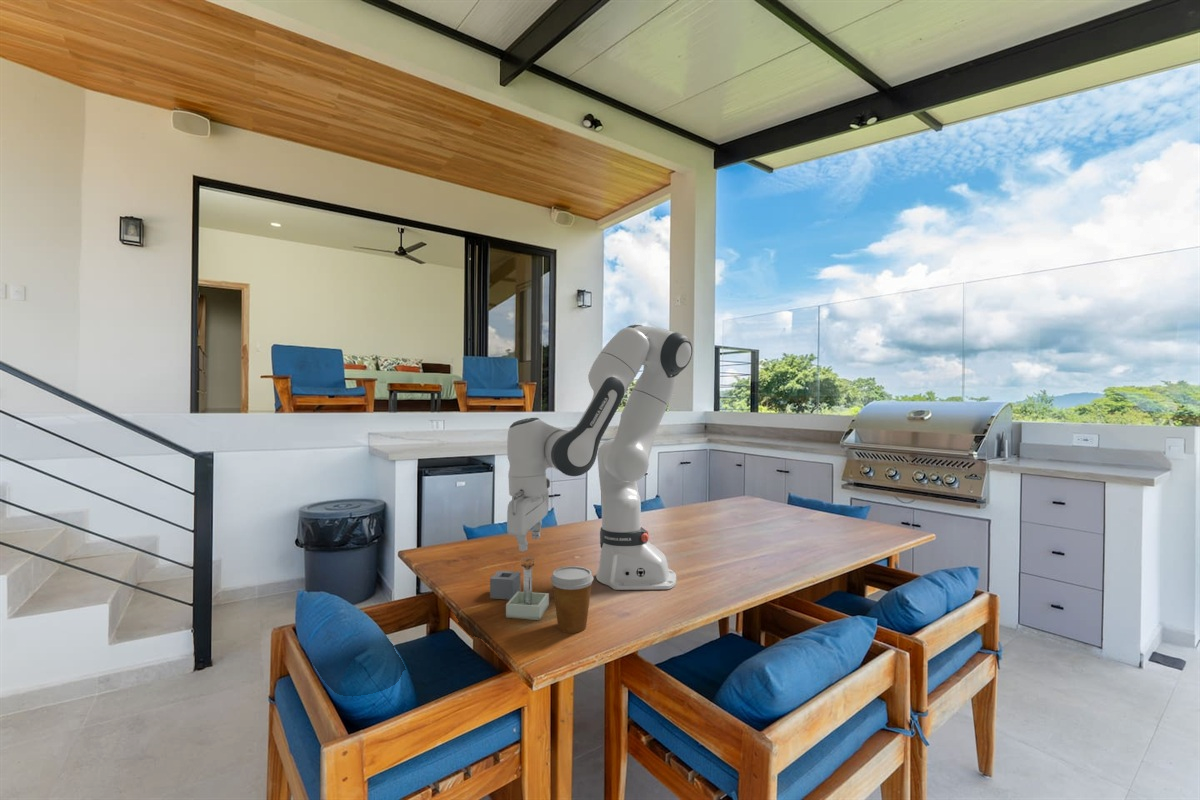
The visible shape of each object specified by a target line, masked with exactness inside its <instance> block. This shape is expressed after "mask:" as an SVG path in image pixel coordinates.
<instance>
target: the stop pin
mask: <svg viewBox="0 0 1200 800" xmlns="http://www.w3.org/2000/svg"><path fill="white" fill-rule="evenodd" d="M535 561H536V560H535V557H534V556H532V555H531V556H522V557H521V558H520V566H521V567H523V592H524V605H532V592H533V567H534V566H535V564H536V563H535Z"/></svg>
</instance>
